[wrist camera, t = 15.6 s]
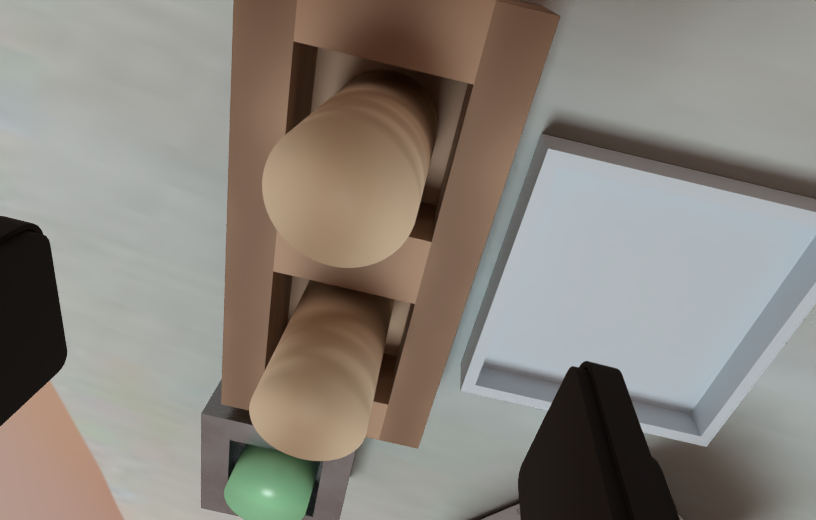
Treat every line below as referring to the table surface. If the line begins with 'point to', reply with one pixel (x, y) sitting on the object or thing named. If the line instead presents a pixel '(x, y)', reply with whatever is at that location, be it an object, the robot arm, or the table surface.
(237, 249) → the wooden dowel rack
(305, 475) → the button
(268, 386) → the seated dowel
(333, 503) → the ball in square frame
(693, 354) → the shallow grey square tray
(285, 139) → the dowel
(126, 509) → the table surface
